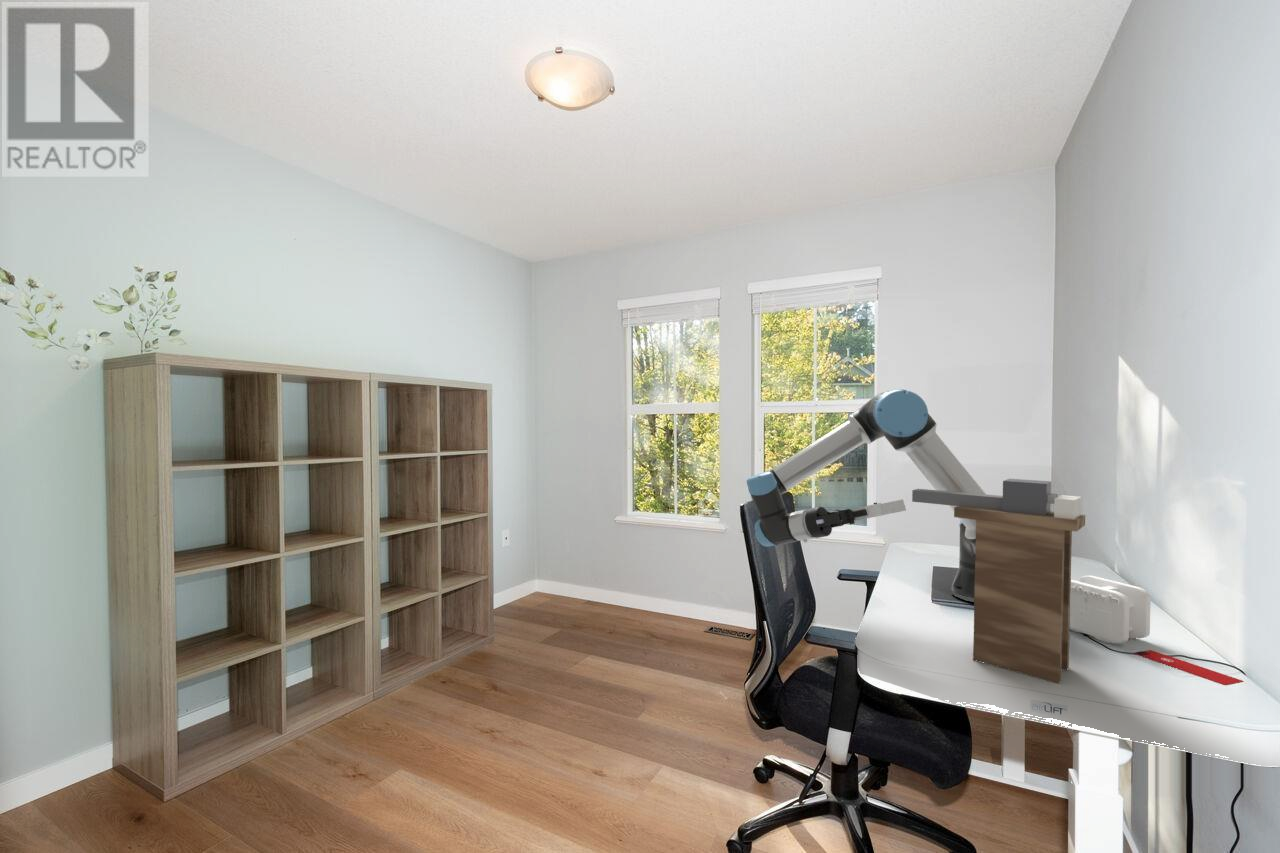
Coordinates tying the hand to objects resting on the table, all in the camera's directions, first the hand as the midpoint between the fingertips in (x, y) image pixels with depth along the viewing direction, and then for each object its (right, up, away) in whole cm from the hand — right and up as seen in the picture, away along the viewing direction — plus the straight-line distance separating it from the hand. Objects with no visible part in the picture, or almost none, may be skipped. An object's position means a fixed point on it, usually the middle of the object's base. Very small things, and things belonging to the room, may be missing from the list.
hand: (893, 506), depth 131 cm
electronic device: (+49, -29, -19) cm, 60 cm away
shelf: (+16, -28, -19) cm, 37 cm away
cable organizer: (+46, -29, -2) cm, 54 cm away
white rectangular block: (+22, +2, -24) cm, 33 cm away
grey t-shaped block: (+11, +2, -14) cm, 19 cm away
